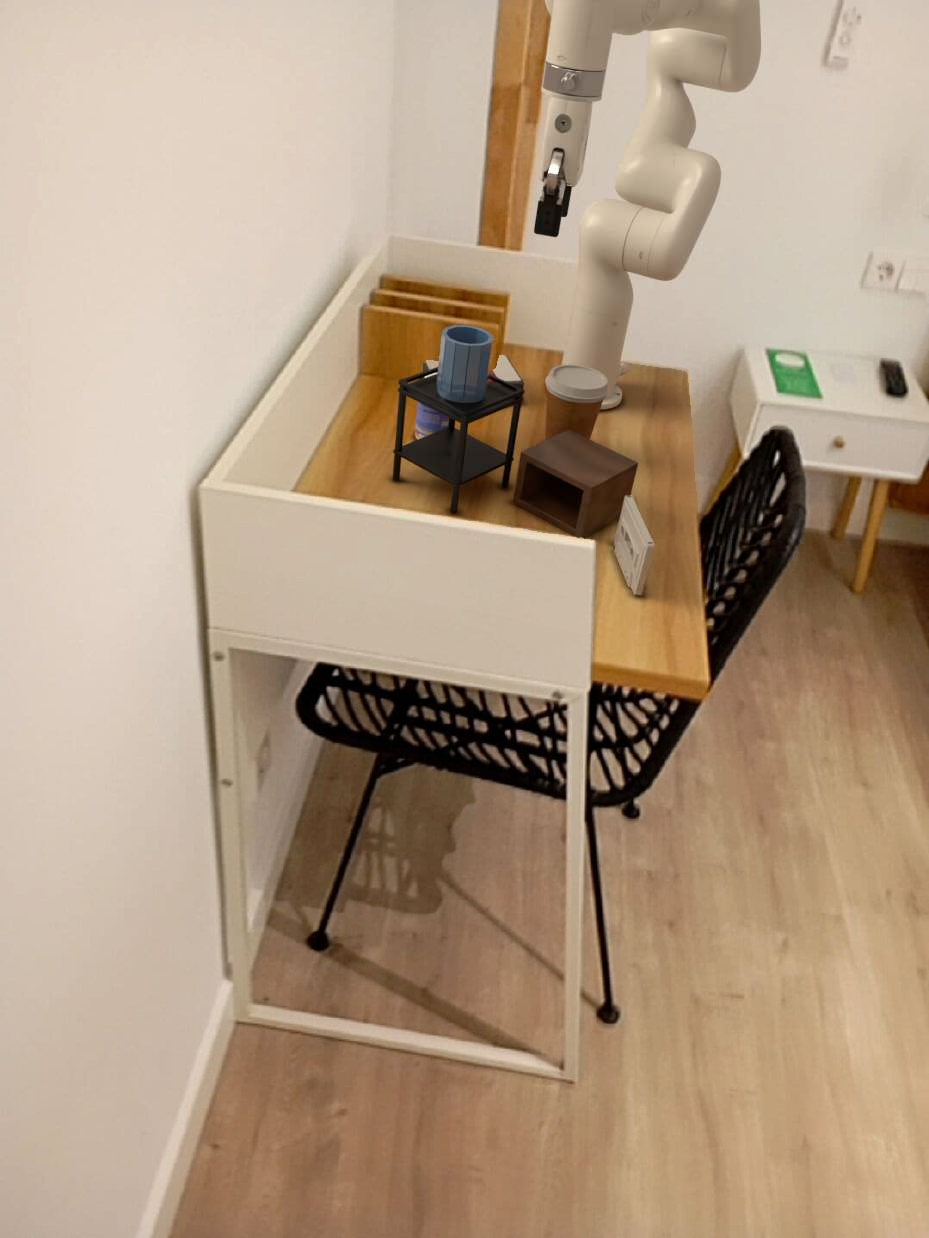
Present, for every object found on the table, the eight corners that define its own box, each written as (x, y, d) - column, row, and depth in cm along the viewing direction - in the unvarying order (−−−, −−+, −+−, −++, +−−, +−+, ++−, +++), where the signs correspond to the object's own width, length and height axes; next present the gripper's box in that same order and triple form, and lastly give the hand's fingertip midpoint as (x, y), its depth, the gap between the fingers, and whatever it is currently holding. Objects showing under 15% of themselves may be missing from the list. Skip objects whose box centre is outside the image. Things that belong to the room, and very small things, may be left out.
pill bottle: (445, 449, 152) (452, 389, 146) (410, 442, 153) (416, 382, 147) (453, 433, 156) (460, 374, 150) (419, 426, 157) (424, 367, 151)
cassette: (609, 543, 136) (621, 493, 131) (623, 543, 136) (635, 494, 132) (630, 596, 127) (644, 545, 122) (645, 596, 127) (659, 545, 122)
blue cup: (459, 377, 139) (465, 321, 134) (495, 395, 136) (503, 338, 131) (426, 389, 135) (431, 332, 130) (463, 408, 132) (470, 349, 127)
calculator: (421, 354, 170) (507, 351, 173) (420, 378, 172) (505, 374, 176) (435, 383, 161) (525, 379, 165) (434, 408, 164) (522, 403, 167)
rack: (447, 454, 151) (458, 359, 142) (509, 487, 145) (524, 390, 136) (390, 479, 143) (398, 380, 134) (453, 515, 137) (466, 414, 128)
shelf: (559, 478, 149) (568, 429, 144) (626, 512, 143) (638, 462, 138) (512, 502, 142) (520, 451, 137) (581, 539, 136) (592, 487, 131)
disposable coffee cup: (554, 429, 161) (567, 357, 154) (606, 450, 158) (622, 378, 150) (522, 448, 155) (534, 375, 148) (575, 471, 151) (590, 396, 144)
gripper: (596, 99, 117) (571, 248, 128) (609, 76, 131) (585, 213, 141) (533, 88, 118) (512, 238, 128) (552, 67, 132) (532, 203, 142)
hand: (550, 225), depth 135 cm, fingers open, 9 cm apart
